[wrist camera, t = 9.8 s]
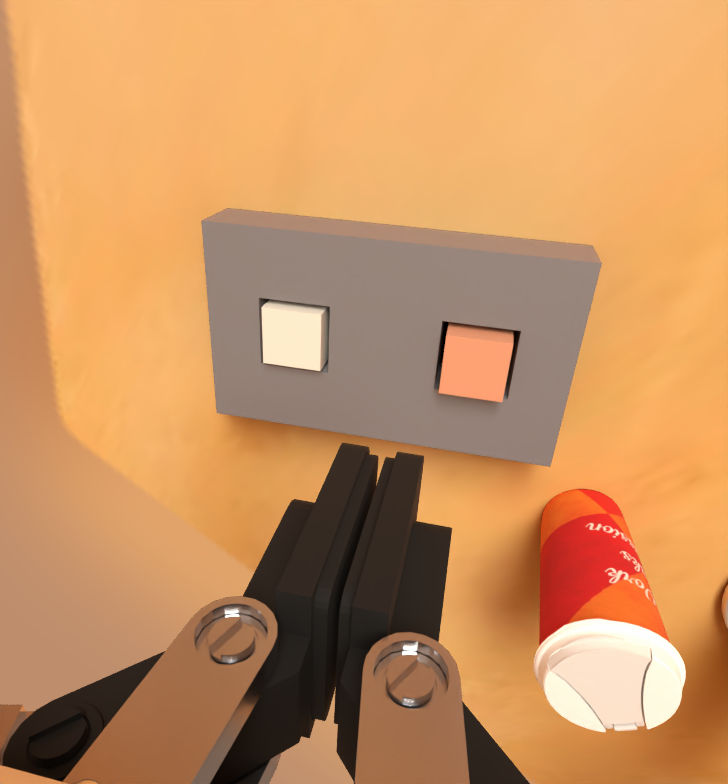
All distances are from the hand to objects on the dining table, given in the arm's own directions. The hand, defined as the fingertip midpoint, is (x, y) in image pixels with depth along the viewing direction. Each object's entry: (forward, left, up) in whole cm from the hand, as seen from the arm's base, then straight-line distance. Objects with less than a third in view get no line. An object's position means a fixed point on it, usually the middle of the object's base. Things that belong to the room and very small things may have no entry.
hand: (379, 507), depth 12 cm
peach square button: (-8, -2, -28) cm, 29 cm away
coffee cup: (-22, -12, -29) cm, 39 cm away
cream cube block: (-8, +10, -29) cm, 31 cm away
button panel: (-8, +4, -29) cm, 30 cm away
